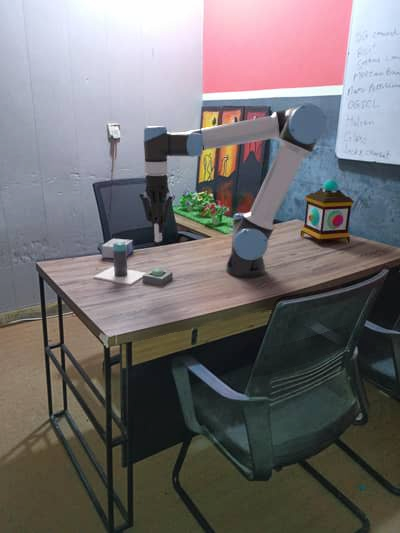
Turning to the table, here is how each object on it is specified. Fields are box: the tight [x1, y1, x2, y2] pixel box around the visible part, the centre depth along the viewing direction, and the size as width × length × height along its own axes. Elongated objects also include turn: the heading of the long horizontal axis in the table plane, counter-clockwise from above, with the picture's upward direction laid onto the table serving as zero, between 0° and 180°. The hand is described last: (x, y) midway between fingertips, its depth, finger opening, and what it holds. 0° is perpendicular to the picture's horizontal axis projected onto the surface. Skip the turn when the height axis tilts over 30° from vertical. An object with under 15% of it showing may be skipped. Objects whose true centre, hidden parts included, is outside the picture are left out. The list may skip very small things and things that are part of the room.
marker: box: [113, 242, 128, 277], centre depth 160 cm, size 5×5×12 cm
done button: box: [151, 268, 164, 277], centre depth 159 cm, size 4×4×3 cm
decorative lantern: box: [300, 178, 355, 247], centre depth 210 cm, size 20×20×30 cm
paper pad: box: [93, 266, 147, 286], centre depth 162 cm, size 16×12×1 cm
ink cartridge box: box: [100, 238, 134, 260], centre depth 187 cm, size 10×6×14 cm
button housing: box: [142, 268, 173, 286], centre depth 159 cm, size 8×8×2 cm
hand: (158, 240), depth 154 cm, fingers closed
